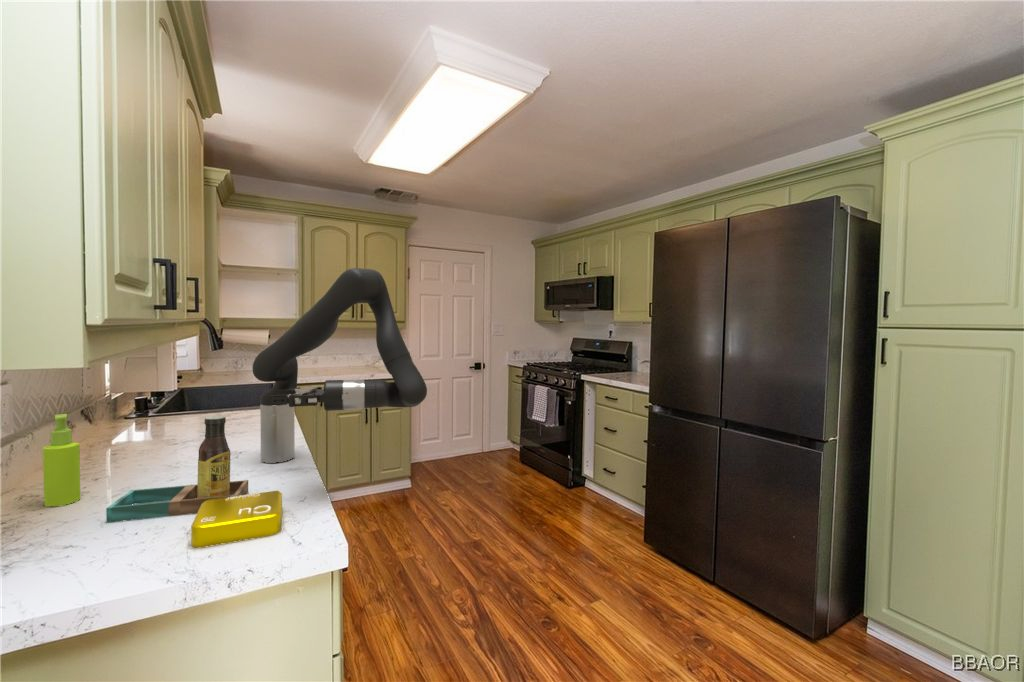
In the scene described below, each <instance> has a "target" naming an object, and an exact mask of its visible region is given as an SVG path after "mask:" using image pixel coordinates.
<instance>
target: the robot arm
mask: <svg viewBox="0 0 1024 682" xmlns="http://www.w3.org/2000/svg"><path fill="white" fill-rule="evenodd" d="M357 304H367V305H368V306H369V309H370V310H371V311H372V314H373V316H374V319H375V323H376V324H375V325H376V327H375V328H376V330H375V331H376V332H375V333H376V334H375V337H376V339H375V340H376V341H375V342H376V347H377V351H378V353H379V356H380V358H381V360H382V362H383V364H384V367H385V369H386V371H387V372H388V374H389V375H391V377H392V379H393V381H385V380H383V379H365V380H363V379H329V380H327V379H326V380H324V383H323V387H322V386H318V387H317V386H310V387H307V386H306V387H305V386H304V387H300V386H299V387H298V377H299V375H298V374H299V372H298V371H299V365H298V359H297V358H299V357H300V356H302V355H304V354H306V353H310V352H311V351H313V350H315V349H318V348H319V347H320V346H322V345H323V344H325V342H327V341H328V340H329V339H330V338H331V337H332V336H333V335H334V334H335V332H336V330H337V329H338V328H337V327H338V325H339V318H340V317H341V316H342V315H343V314H344V313H345V312H346V311H347V310H349V309H350V308H351V307H353V306H355V305H357ZM420 372H421V371H419V369H418V368H417V366H416V365H415V363H414V361H413V359H412V356H411V354H410V352H409V349H408V348H407V344H406V343H405V340H404V339H403V337H402V334H401V332H400V329H399V325H398V322H397V318H396V315H395V312H394V308H393V305H392V302H391V298H390V294H389V290H388V288H387V284H386V281H385V279H384V277H383V275H382V274H381V273H380V272H379V271H377V270H376V269H371V268H360V267H359V268H358V267H352V268H348V269H346V270H345V271H344V272H342V273H341V274H340V275H339V277H338V278H337V279H336V280H335V282H334V283H332V285H331V286H330V288H329V289H328V290H327V291H326V293H325V294H324V295H322V297H321V298H320V299H319V300H318V301H317V302H316V303H315V304H314V305H313V306H312V307H311V308H310V309H309V310H308V311H306V312H305V313H304V314H303V315H302V316H301V317H300V318H299V319H298V320H297V321H296V322H295V323H294V324H293V325H292V326H291V327H290V328H289V329H288V330H287V331H286V332H284V334H282V336H280V337H279V338H278V339H276V341H275V342H273V343H271V344H270V345H269V346H266V348H265V349H263V350H262V351H261V352H259V353H258V354H257V356H256V357H255V358H254V361H253V363H252V375H253V376H254V377H255V378H256V379H257V380H258V381H260V382H264V383H265V382H266V383H272V382H274V385H273V386H272V387H271V388H270V389H269V390H267V391H265V392H263V393H262V394H261V395H260V400H259V402H260V403H259V404H260V407H259V408H260V462H261V461H262V462H261V463H264V462H265V463H266V464H277V463H276V462H279V463H284V462H283V461H285V462H288V461H291V460H293V459H294V458H295V457H296V456H295V454H296V453H295V451H296V449H295V445H296V444H295V441H296V440H295V429H296V428H295V425H296V424H295V423H296V422H295V408H296V407H310V406H311V407H312V406H313V407H317V406H318V403H323V409H324V410H325V411H327V412H329V411H332V412H333V411H355V410H360V409H361V410H362V409H371V408H372V409H375V408H384V407H385V408H386V407H389V408H413V407H417V406H419V405H421V403H422V402H423V401H425V399H426V397H427V396H428V395H427V394H428V387H427V383H426V382H425V380H424V378H423V376H422V375H421V373H420ZM294 456H295V457H294ZM292 458H293V459H292ZM290 459H291V460H290ZM287 460H288V461H287Z"/></svg>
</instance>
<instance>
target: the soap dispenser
mask: <svg viewBox="0 0 1024 682" xmlns="http://www.w3.org/2000/svg"><path fill="white" fill-rule="evenodd" d="M67 419H68V414H67V413H62V414H61V413H60V414H55V415H54V421H55V428H54V429H53V430H51V431H50V444H48V445H45V446H44V447H42V460H43V461H42V465H43V466H42V467H43V501H44V502H43V503H44V504H43V505H45V506H58V507H61V506H60V505H64V506H67V505H66V504H68V505H70V503H72V504H74V503H77V502H78V500H79V499H80V498H81V497H82V496H81V463H80V462H81V456H80V455H81V454H80V452H81V451H80V450H81V449H80V447H81V446H80V443H79V442H77V441H76V442H75V441H74V442H73V440H72V439H73V438H72V436H73V435H72V433H73V432H72V431H73V430H72V429H71V428H69V427H67ZM80 500H81V499H80ZM80 500H79V501H80ZM76 501H77V502H76ZM73 502H74V503H73ZM45 506H44V507H45Z"/></svg>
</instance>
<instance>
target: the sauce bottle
mask: <svg viewBox="0 0 1024 682" xmlns="http://www.w3.org/2000/svg"><path fill="white" fill-rule="evenodd" d="M226 420H227V419H226V416H225V415H214V416H207V417H205V418H204V426H205V429H204V431H205V434H204V439H203V441H202V443H201V444H200V446H199V449H198V459H197V484H198V486H197V498H206V497H217V496H228V495H229V494H230V482H231V449H230V448H229V445H228V444H229V443H228V442H227V438H226V433H225V425H226V422H227V421H226Z"/></svg>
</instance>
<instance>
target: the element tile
mask: <svg viewBox="0 0 1024 682" xmlns="http://www.w3.org/2000/svg"><path fill="white" fill-rule="evenodd" d="M193 519H194V520H193V521H192V524H191V525H190V526H191V527H190V529H191V530H190V532H191V533H190V534H191V536H190V537H191V539H190V540H191V541H190V543H191V545H190V546H191V547H192V548H194V549H197V548H199V547H201V548H207V547H206V546H208V547H212V546H211V545H214V546H217V545H216V544H219V545H222V544H221V543H225V544H229V542H231V543H235V542H234V541H237V542H240V541H239V540H242V541H246V540H245V539H248V540H252V538H254V539H258V537H260V538H264V537H270V536H275V535H277V534H278V533H280V532H281V531H282V521H283V520H282V519H283V493H282V492H281V491H280V490H271V491H263V492H258V493H257V492H255V493H249V494H248V493H247V494H246V495H240V496H233V497H225V498H218V499H210V500H206V501H205V502H204V503H202V504H201V506H200V509H199V511H198V513H196V514H195V517H194V518H193ZM199 549H200V548H199Z"/></svg>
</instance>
